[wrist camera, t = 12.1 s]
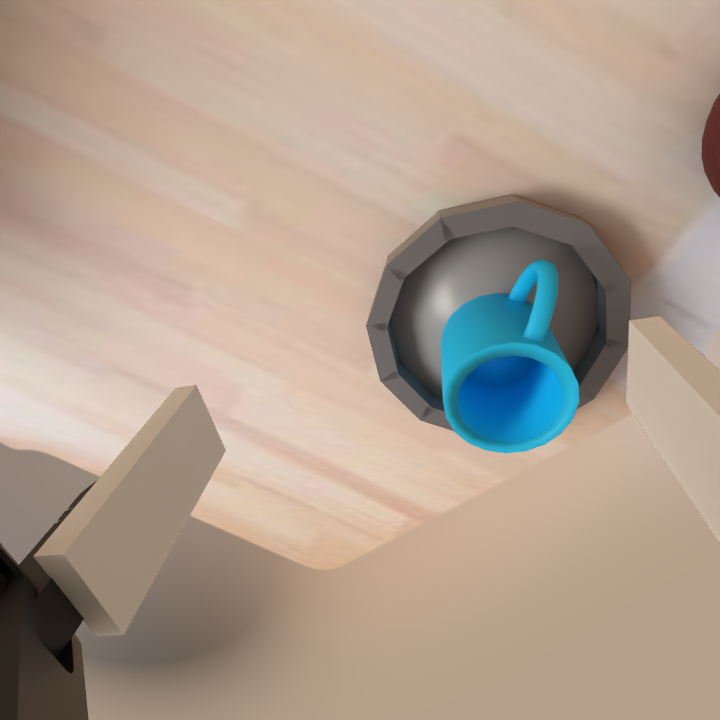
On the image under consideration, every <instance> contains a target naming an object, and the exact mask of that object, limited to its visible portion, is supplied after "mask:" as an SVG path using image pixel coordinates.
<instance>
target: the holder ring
mask: <svg viewBox="0 0 720 720" xmlns="http://www.w3.org/2000/svg"><path fill="white" fill-rule="evenodd" d="M536 260H546V261H549V262H551V263H553V264H554V265H555V267H556V270H557V273H558V277H559V279H558V294H557V299H556V303H555V308H554V312H553V315H552V318H551V321H550V324H549V327H550V329H551V331H552V333H553V335H554V337H555V339H556V341H557V343H558V344H559V346H560V348H561V350H562V352H563V354H564V356H565V358H566V359H567V361H568V363H569V365H570V367H571V369H572V371H573V373H574V375H575V378H576V380H577V382H578V384H579V403H578V406H577V409H578V408H579V407H581V406H583V405H585V404H586V403H588V402H590V401H591V400H593V399H594V398H595V397H596V395H597V394H598V392H599V391H600V389H601V388H602V386H603V385H604V383H605V382H606V380H607V379H608V377H609V376H610V374H611V373H612V371H613V370H614V368H615V367H616V365H617V364H618V362H619V361H620V359H621V357H622V356H623V354H624V353H625V351H626V350H627V348H628V338H629V320H630V290H631V280H630V279H629V277H628V276H627V275H626V273H625V272H624V271H623V269H622V268H621V267H620V265H619V264H618V262H617V261H616V260H615V258H614V257H613V256H612V254H611V253H610V252H609V250H608V249H607V248H606V246H605V245H604V244H603V242H602V241H601V240H600V238H599V237H598V236H597V234H596V233H595V232H594V230H593V229H592V227H591V226H590V225H589V224H588V223H586V222H585V221H584V220H582V219H581V218H580V217H578V216H575V215H572V214H569V213H566V212H563V211H560V210H557V209H554V208H551V207H548V206H545V205H542V204H539V203H536V202H533V201H530V200H527V199H524V198H521V197H518V196H515V195H507V196H502V197H498V198H493V199H489V200H484V201H480V202H475V203H470V204H466V205H461V206H457V207H452V208H448V209H443V210H440V211H438V212H437V213H436V214H435V215H434V216H433V217H432V218H431V219H429V220H428V221H427V222H426V223H425V224H424V225H423V226H421V227H420V228H419V229H418V230H417V231H416V232H415V233H414V234H412V235H411V236H410V237H409V238H408V239H407V240H406V241H405V242H403V243H402V244H401V245H400V246H399V247H398V248H397V249H396V250H394V251H393V252H392V253H391V254H390V255H389V256H388V259H387V262H386V265H385V268H384V271H383V274H382V277H381V280H380V283H379V286H378V290H377V293H376V296H375V299H374V302H373V305H372V308H371V311H370V314H369V318H368V321H367V325H366V327H367V331H368V335H369V339H370V343H371V347H372V350H373V354H374V358H375V362H376V366H377V370H378V374H379V378H380V381H381V382H382V383H383V384H384V385H385V386H386V387H387V388H388V389H389V390H390V391H391V392H392V393H393V394H394V395H395V396H396V397H397V398H398V399H399V400H400V401H401V402H402V403H403V404H404V405H405V406H406V407H407V408H408V409H409V410H410V411H411V412H412V413H413V414H414V415H416V416H417V417H418V418H419V419H420V420H421V421H424V422H427V423H430V424H434V425H437V426H440V427H443V428H446V429H449V430H453V428H452V426H451V425H450V423H449V422H448V420H447V418H446V415H445V409H444V404H443V391H442V368H441V345H440V344H441V338H442V332H443V328H444V327H445V325H446V323H447V321H448V320H449V318H450V316H451V315H452V314H453V313H454V312H455V311H456V310H457V309H458V308H459V307H461V306H462V305H463V304H464V303H466V302H468V301H470V300H472V299H474V298H477V297H479V296H483V295H489V294H495V293H500V294H509V295H510V292H511V290H512V288H513V287H514V285H515V283H516V282H517V280H518V278H519V276H520V275H521V274H522V273H523V271H524V270H525V269H526V267H527V266H529V265H530V264H531V263H533V262H534V261H536ZM592 275H593V276H594V278H595V281H594V279H593V276H592ZM536 291H537V283H536V284H535V285H534V287H533V289H532V290H531V292H530V293H529V295H528V297H527V299H526V300H527V301H529V302H531V303H532V304H533V305H534V300H535V295H536ZM390 317H391V318H390ZM453 431H454V430H453Z"/></svg>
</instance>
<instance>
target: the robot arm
mask: <svg viewBox="0 0 720 720" xmlns="http://www.w3.org/2000/svg"><path fill="white" fill-rule="evenodd" d="M626 404H627V406H628V407H629V409H630V410H631V412H632V413H633V415H634V416H635V418H636V419H637V421H638V422H639V424H640V425H641V427H642V428H643V430H644V431H645V433H646V434H647V436H648V437H649V438H650V440H651V441H652V443H653V444H654V446H655V447H656V449H657V450H658V452H659V453H660V455H661V456H662V458H663V459H664V461H665V462H666V464H667V465H668V467H669V468H670V469H671V471H672V473H673V474H674V476H675V477H676V479H677V480H678V482H679V483H680V485H681V486H682V487H683V489H684V490H685V492H686V493H687V495H688V496H689V498H690V499H691V501H692V502H693V504H694V505H695V506H696V508H697V510H698V511H699V513H700V514H701V516H702V517H703V519H704V520H705V522H706V523H707V524H708V526H709V527H710V529H711V531H712V532H713V533H714V535H715V536H716V538H717V539H718V541H719V542H720V370H719V369H718V368H717V367H716V366H715V365H713V364H712V363H711V362H710V361H709V360H708V359H707V358H706V357H705V356H704V355H703V354H701V353H700V352H699V351H698V350H697V349H696V348H695V347H694V346H693V345H692V344H690V343H689V342H688V341H687V340H686V339H685V338H684V337H683V336H682V335H681V334H679V333H678V332H677V331H676V330H675V329H674V328H673V327H672V326H671V325H670V324H668V323H667V322H666V321H665V320H664V319H663V318H662V317H661V316H656V317H649V318H642V319H636V320H629V338H628V367H627V395H626ZM225 451H226V450H225V448H224V445H223V443H222V441H221V439H220V436H219V434H218V432H217V430H216V428H215V425H214V423H213V421H212V419H211V417H210V414H209V412H208V410H207V408H206V405H205V403H204V401H203V399H202V397H201V394H200V392H199V390H198V388H197V385H193V386H187V387H180V388H175V389H174V391H173V392H172V393H171V394H170V395H169V397H168V398H167V399H166V400H165V401H164V402H163V404H162V405H161V406H160V407H159V408H158V410H157V411H156V412H155V413H154V414H153V415H152V417H151V418H150V419H149V420H148V421H147V423H146V424H145V425H144V426H143V427H142V428H141V430H140V431H139V432H138V433H137V434H136V436H135V437H134V438H133V439H132V440H131V441H130V443H129V444H128V445H127V446H126V447H125V449H124V450H123V451H122V452H121V453H120V454H119V456H118V457H117V458H116V459H115V460H114V462H113V463H112V464H111V465H110V466H109V467H108V469H107V470H106V471H105V472H104V473H103V475H102V476H101V477H100V478H99V479H98V480H97V481H96V482H94V483H93V484H92V485H90V486H89V487H88V488H87V489H85V490H84V491H83V492H82V493H81V494H80V495H79V496H78V497H77V498H76V499H75V501H74V502H73V503H72V504H71V505H70V507H69V508H68V511H65V512H64V513H63V515H62V516H61V517H60V518H59V519H58V523H55V524H54V525H53V526H52V528H51V529H50V530H49V531H48V532H47V533H46V534H45V535H44V537H43V538H42V539H41V540H40V541H39V543H38V544H37V545H36V546H35V547H34V548H33V550H32V551H31V552H30V553H29V554H28V555H27V556H26V558H25V559H24V560H23V561H22V562H21V563H20V564H19V565H18V564H17V563H16V561H15V560H14V559H13V558H12V557H11V555H10V554H9V553H8V552H7V550H6V549H5V548H4V547H3V546H2V544H1V543H0V720H88V711H87V700H86V690H85V679H84V669H83V658H82V648H81V643H80V641H79V639H78V637H77V636H76V635H75V632H76V630H77V629H78V627H79V625H80V624H81V622H82V620H84V621H85V623H86V624H87V625H88V627H89V628H90V629H91V630H92V632H93V633H94V634H95V635H96V636H97V635H98V636H99V635H123V634H124V633H125V631H126V629H127V628H128V626H129V624H130V622H131V621H132V619H133V617H134V615H135V613H136V612H137V610H138V608H139V606H140V604H141V603H142V601H143V599H144V597H145V595H146V594H147V591H148V590H149V588H150V586H151V585H152V583H153V581H154V579H155V577H156V576H157V574H158V572H159V570H160V568H161V566H162V565H163V562H164V561H165V559H166V557H167V556H168V554H169V552H170V550H171V548H172V547H173V545H174V543H175V541H176V539H177V537H178V536H179V534H180V532H181V530H182V528H183V527H184V525H185V523H186V521H187V519H188V518H189V516H190V514H191V512H192V510H193V509H194V507H195V505H196V503H197V501H198V500H199V498H200V496H201V494H202V492H203V491H204V489H205V487H206V485H207V483H208V482H209V480H210V478H211V476H212V474H213V473H214V471H215V469H216V467H217V465H218V464H219V462H220V460H221V458H222V456H223V454H224V453H225Z"/></svg>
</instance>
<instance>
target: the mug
mask: <svg viewBox="0 0 720 720" xmlns="http://www.w3.org/2000/svg"><path fill="white" fill-rule="evenodd" d="M558 279H559V277H558V273H557V270H556V267H555V265H554V264H553V263H551V262H549V261H546V260H536V261H534V262H533V263H531V264H530V265H529V266H527V267H526V269H525V270H524V271H523V273H522V274H521V275H520V276H519V278H518V280H517V282H516V283H515V285H514V287H513V288H512V290H511V292H510V295H509V294H500V293H495V294H489V295H483V296H479V297H477V298H474V299H472V300H470V301H468V302H466V303H464V304H463V305H462V306H461V307H459V308H458V309H457V310H456V311H455V312H454V313H453V314H452V315H451V316H450V318H449V320H448V321H447V323H446V325H445V327H444V328H443V332H442V338H441V344H440V345H441V368H442V391H443V404H444V409H445V415H446V418H447V420H448V422H449V423H450V425H451V426H452V428H453V430H454V431H455V432H456V433H457V434H458V435H459V436H461V437H462V438H463V439H464V440H465V441H467V442H468V443H470V444H472V445H474V446H477V447H479V448H481V449H484V450H487V451H494V452H501V453H512V452H522V451H527V450H530V449H533V448H536V447H539V446H541V445H544V444H546V443H547V442H549V441H550V440H552V439H553V438H555V437H556V436H558V435H559V434H561V433H562V431H563V430H564V429H565V428H566V427H567V425H568V424H569V423H570V422H571V420H572V419H573V417H574V414H575V412H576V409H577V406H578V403H579V384H578V382H577V380H576V378H575V375H574V373H573V371H572V369H571V367H570V365H569V363H568V361H567V359H566V358H565V356H564V354H563V352H562V350H561V348H560V346H559V344H558V343H557V341H556V339H555V337H554V335H553V333H552V331H551V329H550V327H549V324H550V321H551V318H552V315H553V312H554V308H555V303H556V299H557V294H558ZM536 283H537V291H536V295H535V300H534V305H533V304H532V303H531V302H529V301H527V300H526V299H527V297H528V295H529V293H530V292H531V290H532V289H533V287H534V285H535V284H536Z"/></svg>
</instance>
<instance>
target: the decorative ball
mask: <svg viewBox="0 0 720 720" xmlns="http://www.w3.org/2000/svg"><path fill="white" fill-rule="evenodd" d="M702 161H703V166H704V171H705V173H706V176H707V178H708V180H709V182H710V184H711V186H712V188H713V189H714V191H715V192H716V194H717V195H718V196H719V197H720V94H719V96H718V97H717V99H716V101H715V102H714V104H713V107H712V109H711V112H710V114H709V116H708V119H707V121H706V125H705V130H704V134H703V138H702Z"/></svg>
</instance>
